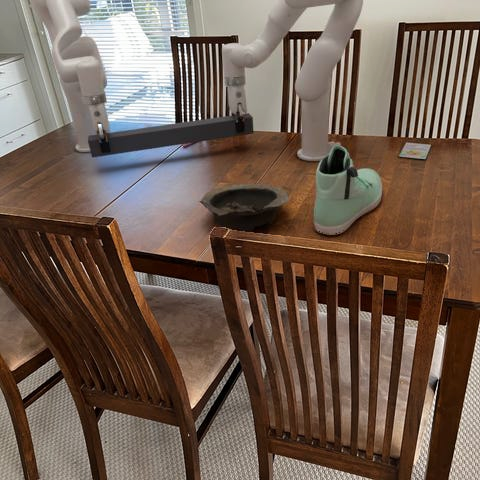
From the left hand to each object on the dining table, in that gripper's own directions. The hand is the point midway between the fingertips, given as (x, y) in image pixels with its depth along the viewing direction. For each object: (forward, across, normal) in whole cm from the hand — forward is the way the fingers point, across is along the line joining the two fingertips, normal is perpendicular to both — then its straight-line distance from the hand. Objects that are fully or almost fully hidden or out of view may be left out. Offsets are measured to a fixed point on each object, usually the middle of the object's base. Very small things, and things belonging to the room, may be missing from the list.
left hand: (106, 148), depth 173 cm
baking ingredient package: (+8, -28, -107) cm, 111 cm away
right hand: (0, 0, -49) cm, 49 cm away
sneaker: (+8, -59, -67) cm, 90 cm away
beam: (+2, 0, -24) cm, 25 cm away
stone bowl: (+8, -54, -37) cm, 67 cm away
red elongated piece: (+8, +17, -34) cm, 38 cm away
